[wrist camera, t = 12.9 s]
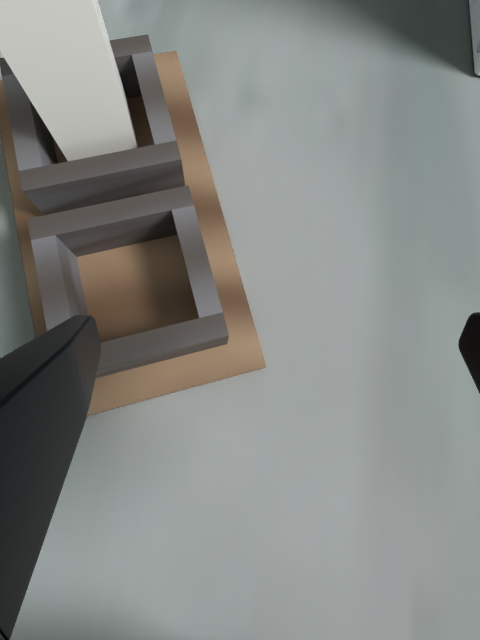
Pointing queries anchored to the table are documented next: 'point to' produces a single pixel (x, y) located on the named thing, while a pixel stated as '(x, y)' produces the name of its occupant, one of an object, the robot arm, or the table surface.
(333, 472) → the table surface
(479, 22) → the string lights box
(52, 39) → the plug
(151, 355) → the dock
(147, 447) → the table surface
